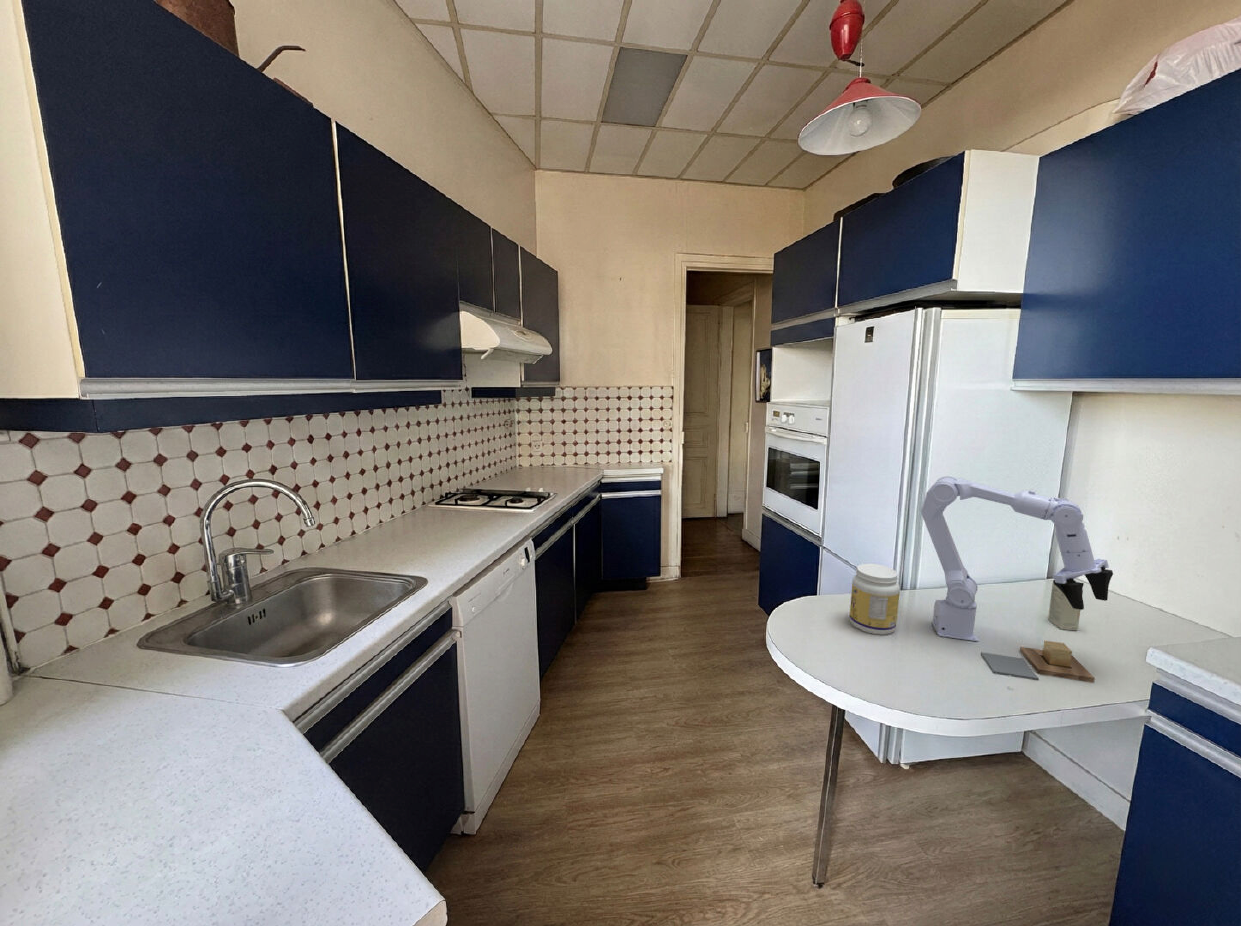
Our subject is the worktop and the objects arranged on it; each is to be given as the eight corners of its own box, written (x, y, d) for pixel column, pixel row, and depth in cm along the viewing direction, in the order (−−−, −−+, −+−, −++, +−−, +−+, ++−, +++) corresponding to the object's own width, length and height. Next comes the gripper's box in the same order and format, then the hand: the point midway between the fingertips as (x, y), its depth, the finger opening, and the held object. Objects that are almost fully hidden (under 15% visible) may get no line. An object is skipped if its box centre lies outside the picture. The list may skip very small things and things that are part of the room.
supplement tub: (846, 613, 152) (850, 560, 149) (890, 618, 148) (895, 564, 145) (852, 632, 140) (857, 576, 137) (900, 638, 137) (906, 581, 134)
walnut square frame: (1038, 673, 120) (1038, 669, 120) (1019, 650, 130) (1020, 646, 130) (1094, 682, 117) (1094, 677, 117) (1070, 658, 127) (1071, 654, 127)
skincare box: (1078, 631, 140) (1085, 590, 138) (1060, 629, 141) (1067, 589, 139) (1063, 620, 147) (1069, 581, 145) (1046, 619, 147) (1052, 580, 145)
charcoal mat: (993, 672, 121) (993, 671, 121) (980, 653, 129) (980, 651, 129) (1038, 680, 118) (1038, 678, 118) (1022, 660, 126) (1022, 658, 126)
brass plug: (1048, 669, 122) (1051, 648, 121) (1041, 660, 126) (1044, 640, 125) (1068, 672, 121) (1072, 651, 120) (1060, 663, 125) (1063, 643, 124)
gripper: (1070, 559, 116) (1085, 616, 116) (1116, 543, 119) (1131, 598, 119) (1039, 556, 123) (1053, 609, 123) (1084, 541, 126) (1098, 593, 126)
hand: (1090, 604), depth 121 cm, fingers open, 7 cm apart
